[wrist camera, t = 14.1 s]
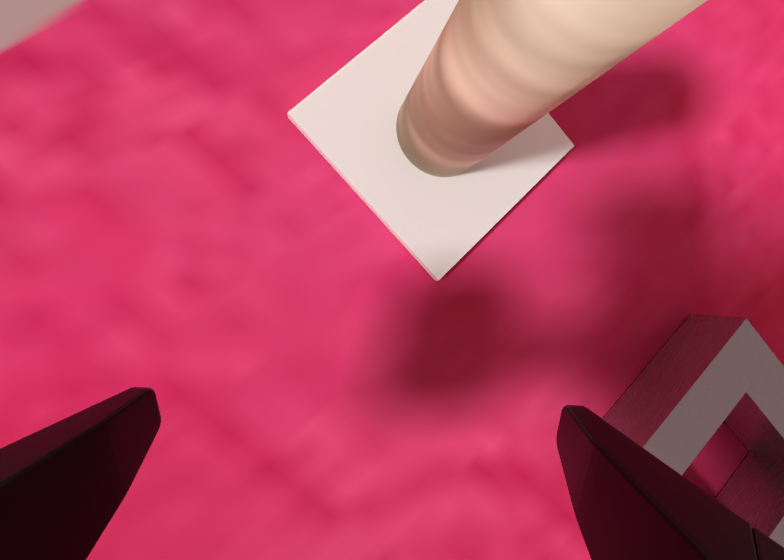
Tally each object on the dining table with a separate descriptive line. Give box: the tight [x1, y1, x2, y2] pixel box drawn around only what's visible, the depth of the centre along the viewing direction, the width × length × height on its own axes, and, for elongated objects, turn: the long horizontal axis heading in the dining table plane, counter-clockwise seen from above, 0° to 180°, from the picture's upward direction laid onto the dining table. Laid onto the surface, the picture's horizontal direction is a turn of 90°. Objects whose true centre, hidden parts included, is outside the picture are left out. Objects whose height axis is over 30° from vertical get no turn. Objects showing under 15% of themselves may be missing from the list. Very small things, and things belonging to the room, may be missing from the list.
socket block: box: [603, 315, 784, 547], centre depth 21 cm, size 11×11×3 cm
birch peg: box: [396, 0, 707, 177], centre depth 13 cm, size 4×4×13 cm
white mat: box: [288, 0, 574, 281], centre depth 20 cm, size 10×10×1 cm
